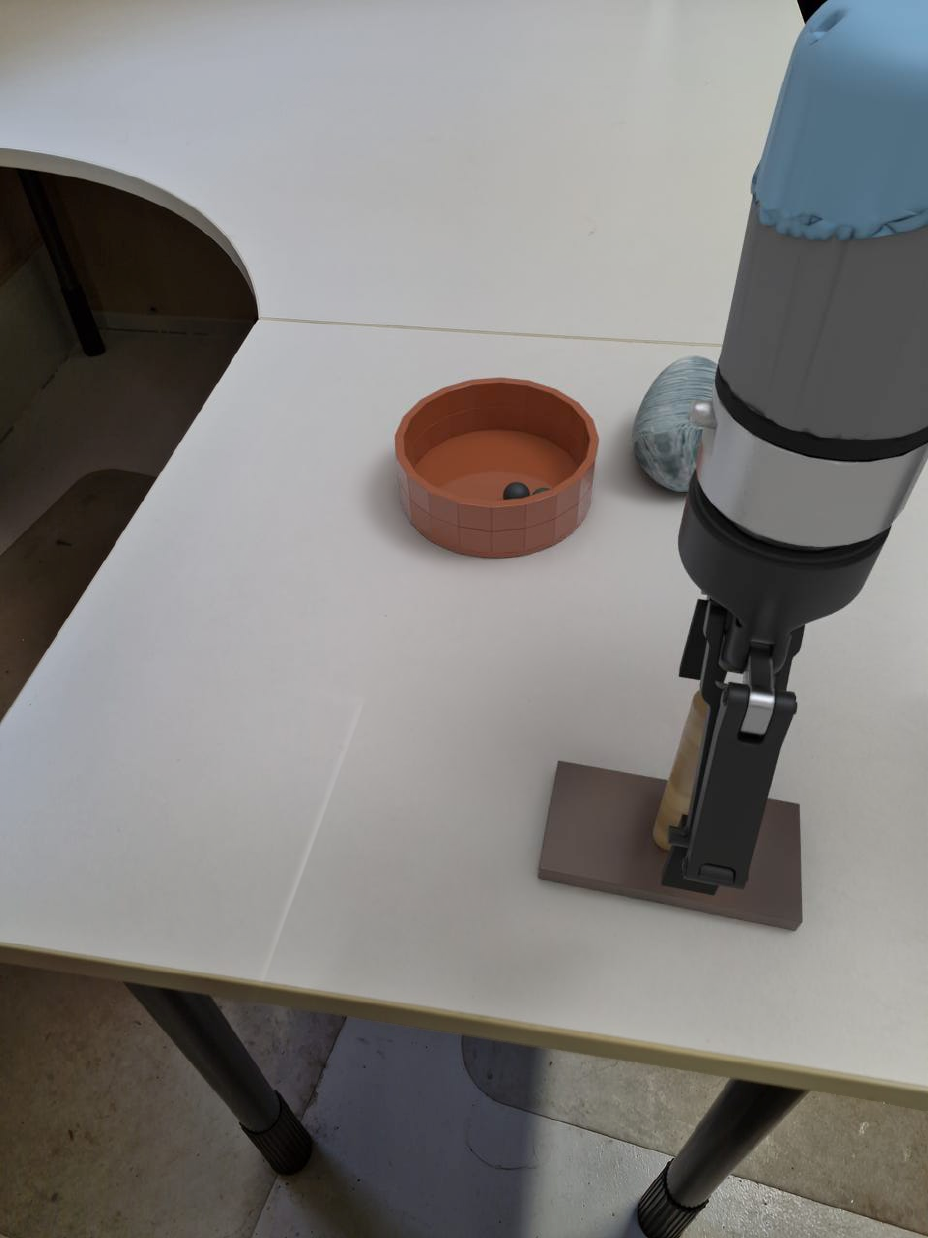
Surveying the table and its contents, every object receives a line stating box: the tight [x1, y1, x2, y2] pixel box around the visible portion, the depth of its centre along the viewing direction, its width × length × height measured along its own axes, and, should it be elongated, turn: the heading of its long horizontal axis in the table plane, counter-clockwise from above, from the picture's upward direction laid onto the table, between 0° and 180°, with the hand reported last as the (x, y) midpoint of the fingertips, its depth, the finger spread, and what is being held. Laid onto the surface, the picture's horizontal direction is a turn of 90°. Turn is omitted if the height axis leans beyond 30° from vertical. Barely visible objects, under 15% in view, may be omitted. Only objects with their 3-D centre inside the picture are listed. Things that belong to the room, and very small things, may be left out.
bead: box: [503, 482, 530, 500], centre depth 76 cm, size 2×2×2 cm
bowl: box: [394, 376, 600, 559], centre depth 77 cm, size 18×18×6 cm
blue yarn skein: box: [631, 355, 718, 493], centre depth 78 cm, size 14×10×10 cm
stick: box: [653, 689, 708, 851], centre depth 49 cm, size 2×2×15 cm
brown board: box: [537, 760, 804, 931], centre depth 56 cm, size 16×8×2 cm, turn 77°
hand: (695, 771), depth 49 cm, fingers open, 13 cm apart
